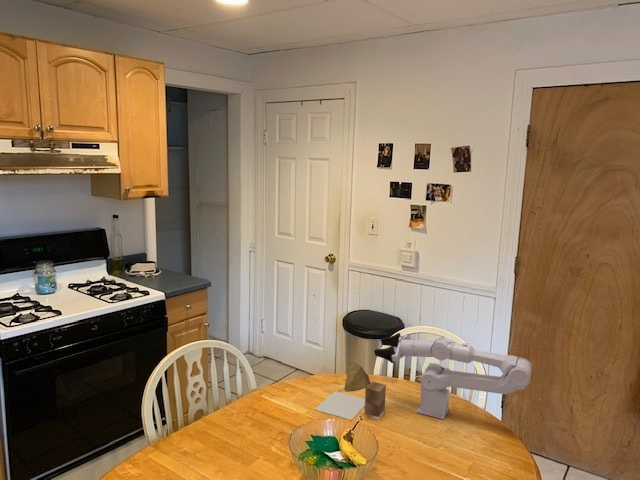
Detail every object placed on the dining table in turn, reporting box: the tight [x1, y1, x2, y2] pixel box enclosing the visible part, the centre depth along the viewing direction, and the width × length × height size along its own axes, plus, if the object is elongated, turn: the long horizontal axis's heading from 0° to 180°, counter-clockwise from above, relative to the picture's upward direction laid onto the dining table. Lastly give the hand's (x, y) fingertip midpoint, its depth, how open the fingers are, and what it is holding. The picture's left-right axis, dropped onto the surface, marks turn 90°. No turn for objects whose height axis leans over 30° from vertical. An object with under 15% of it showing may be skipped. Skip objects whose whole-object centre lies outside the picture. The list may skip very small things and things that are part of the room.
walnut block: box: [364, 381, 387, 421], centre depth 163 cm, size 5×6×10 cm
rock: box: [344, 361, 372, 392], centre depth 183 cm, size 11×9×10 cm
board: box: [313, 390, 365, 420], centre depth 169 cm, size 14×16×1 cm
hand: (378, 347), depth 173 cm, fingers open, 7 cm apart
